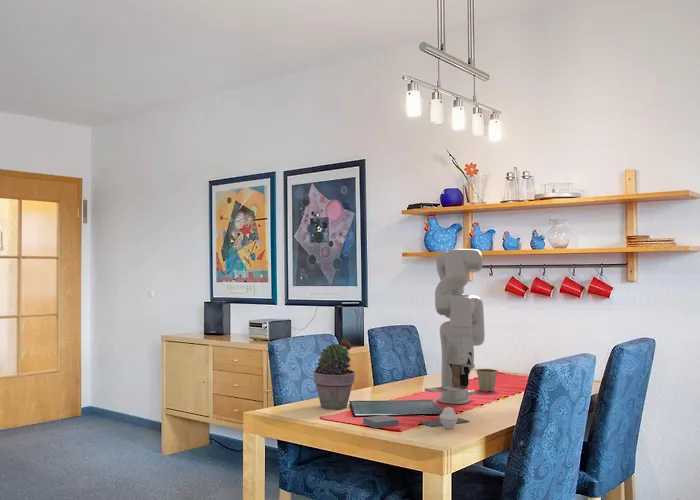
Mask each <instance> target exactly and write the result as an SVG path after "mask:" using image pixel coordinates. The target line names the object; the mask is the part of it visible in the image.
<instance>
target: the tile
mask: <svg viewBox="0 0 700 500" xmlns="http://www.w3.org/2000/svg"><path fill="white" fill-rule="evenodd" d="M362 420H363V421H362V423H363V424H364V425H365V426H366V425H367V426H369V427H371V428H374V429H382V428H388V427H389V426H390V427H397V426H399V425H400V424H399V423H400V422H399V421H400V420H399V419H398V418H395V417H392V416H390V415H387V414H383V415H376V416H375V415H374V416H367V417H362Z"/></svg>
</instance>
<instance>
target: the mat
mask: <svg viewBox="0 0 700 500" xmlns="http://www.w3.org/2000/svg"><path fill="white" fill-rule="evenodd" d="M469 422H470V420H467V419H465V418H461V417H458V419H457V422H456V424H455V425H458V424H463V423H464V424H465V423H469ZM418 423H419V424H421V425H424V426H427V427H431V428H435V427H443V425H442V423H441V421H440V418H438V419H430V420H423V421H419V422H418Z"/></svg>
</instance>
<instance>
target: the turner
mask: <svg viewBox="0 0 700 500" xmlns="http://www.w3.org/2000/svg"><path fill="white" fill-rule="evenodd" d="M465 368H466V367H465ZM460 374H462V372H461V365H453V386H447V387H442V386H439V387H428V388H427V387H426V388H424V391H426V392H429V393H441V392H442V391H452V390H460V389H467V390H468V385H467V386H461V385H460Z"/></svg>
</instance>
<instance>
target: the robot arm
mask: <svg viewBox="0 0 700 500" xmlns="http://www.w3.org/2000/svg"><path fill="white" fill-rule="evenodd" d="M435 258H436V260H435V263H436V270H437V271H436V272H437V274H438V277H439V280H440V281H439V283H437V284H436V285H437V286H436V288H435V290H434V308H435V311H436V313H437V314H438V315H440V316H445V317H446V318H447V319H449V320H448V321H445V322H443V323H442V324H441V325H440V326H439V337H440V344H441V345H440V346H441V387H447V386H453V365H461V372H462V374H460V385H461V386H467V387H468V386H469V383H470V382H469V381H470V380H469V378H470V377H469V375H470V373H471V371H472V370H473V369H475V368H476V365H475V363H474V362H475V349H474V346H475V347H477V346H481V345H483V343H484V342H485V315H484V313H485V312H484V303H483V300H482V298H481V297H479V296H477V295H470V294H469V295H468V294H465V293H464V292H465V286H466V285H467V284H468V282H469V280H470V279H469V273H478V272H480V271H481V270H482V268H483V264H484V258H483V255H482V252H481V251H480V250H479V249H477V248H476V249H475V248H453V249H449V250H448V251H442V252H439V253H438V254H437V256H436V257H435ZM465 367H466V368H465ZM440 393H441V395H440V396H438V397H437V399H436V400H437V402H439V403H442V404H448V405H464V404H468V403H470V402H471V401H470V400H471V399H470V398H469V396H474V395H476V390H475V389H471V390H469V389H468V388H467V389H460V390H452V391H442V392H440Z"/></svg>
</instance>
